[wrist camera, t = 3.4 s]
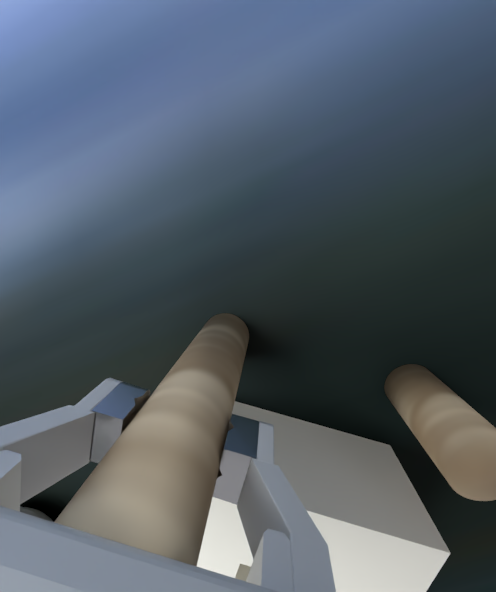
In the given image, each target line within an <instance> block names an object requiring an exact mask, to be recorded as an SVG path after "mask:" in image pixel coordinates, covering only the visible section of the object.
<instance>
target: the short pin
mask: <svg viewBox="0 0 496 592" xmlns="http://www.w3.org/2000/svg"><path fill="white" fill-rule="evenodd" d="M384 389H385V393H386V396H387V397H388V399H389V400H390V401H391V403H392V404H393V406H394V407H395V408H396V410H397V411H398V413H399V414H400V415H401V417H402V418H403V420H404V421H405V423H406V424H407V425H408V427H409V428H410V430H411V431H412V432H413V434H414V435H415V437H416V438H417V439H418V441H419V442H420V444H421V445H422V446H423V448H424V449H425V451H426V452H427V454H428V455H429V456H430V458H431V459H432V461H433V462H434V463H435V465H436V466H437V468H438V469H439V470H440V472H441V473H442V475H443V476H444V477H445V479H446V480H447V482H448V483H449V485H450V486H451V487H452V488H453V490H454V491H456V492H457V493H458V494H460V495H461V496H463V497H465V498H468V499H472V500H477V501H492V500H496V428H495V427H494V426H493V425H491V424H490V423H489V422H488V421H487V420H486V419H485V418H483V417H482V416H481V415H480V414H479V413H478V412H476V411H475V410H474V409H473V408H472V407H471V406H469V405H468V404H467V403H466V402H465V401H464V400H463V399H461V398H460V397H459V396H458V395H457V394H456V393H454V392H453V391H452V390H451V389H450V388H449V387H447V386H446V385H445V384H444V383H443V382H442V381H441V380H439V379H438V378H437V377H436V376H435V375H434V374H432V373H431V372H430V371H429V370H428V369H426V368H425V367H423V366H420V365H416V364H408V365H403V366H400V367H398V368H396V369H394V370H393V371H392V372H391V373H390V374H389V375H388V377H387V378H386V381H385V385H384Z"/></svg>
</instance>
